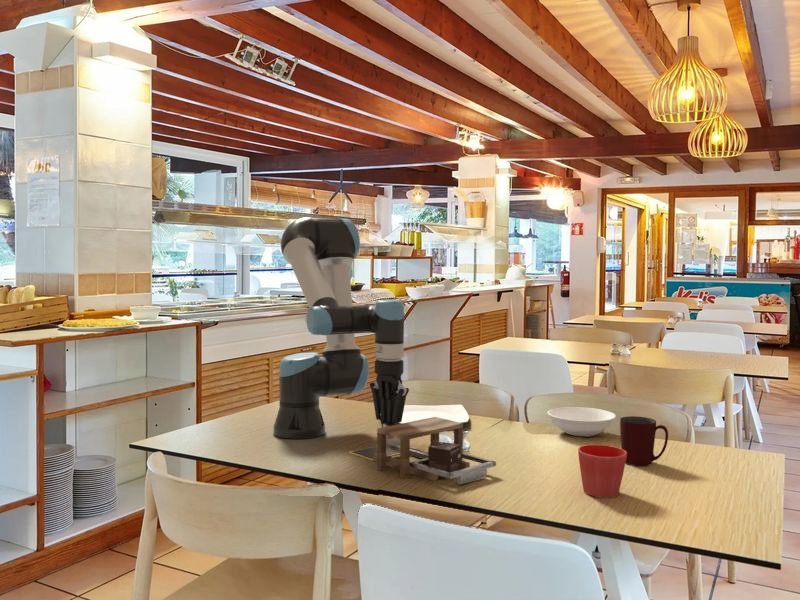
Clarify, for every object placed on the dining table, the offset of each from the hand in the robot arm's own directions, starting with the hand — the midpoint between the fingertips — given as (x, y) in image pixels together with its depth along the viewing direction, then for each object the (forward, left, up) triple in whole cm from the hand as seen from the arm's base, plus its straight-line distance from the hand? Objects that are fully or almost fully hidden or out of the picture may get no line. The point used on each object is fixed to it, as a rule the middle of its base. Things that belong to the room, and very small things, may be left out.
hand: (388, 447), depth 199 cm
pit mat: (-4, 0, -2) cm, 5 cm away
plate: (-25, +38, -3) cm, 46 cm away
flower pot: (+54, +16, -2) cm, 56 cm away
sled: (+15, 0, -2) cm, 15 cm away
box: (+21, -1, -3) cm, 21 cm away
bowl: (+20, +59, -3) cm, 62 cm away
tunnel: (+12, 0, -2) cm, 12 cm away
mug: (+48, +45, -2) cm, 66 cm away
